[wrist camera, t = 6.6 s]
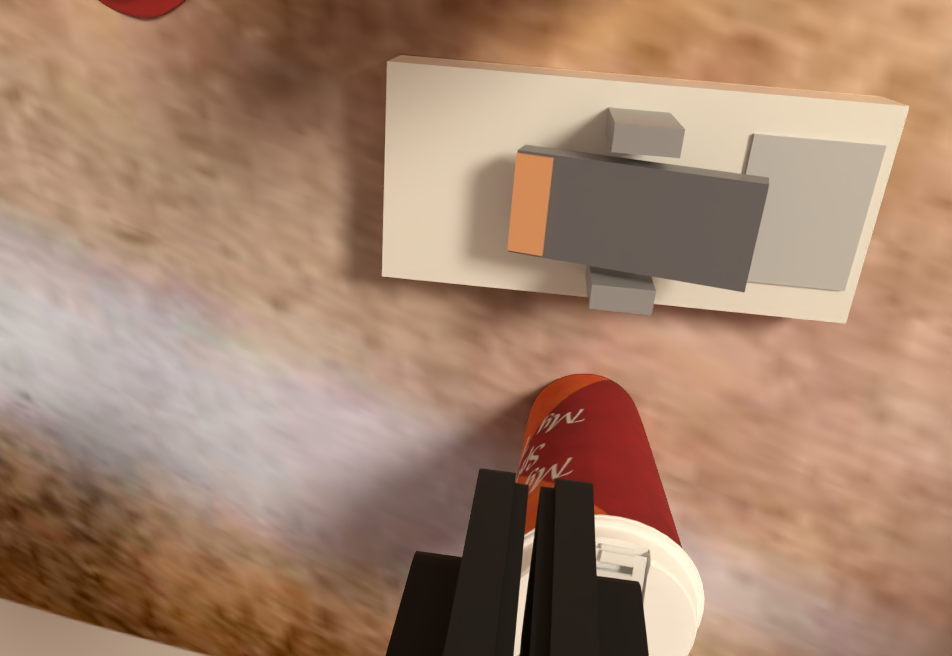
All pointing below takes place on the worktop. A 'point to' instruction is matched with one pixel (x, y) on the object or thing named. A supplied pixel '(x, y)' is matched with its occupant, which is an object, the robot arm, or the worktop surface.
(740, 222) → the breaker paddle
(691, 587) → the paper cup
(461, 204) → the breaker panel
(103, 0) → the cayenne pepper
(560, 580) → the robot arm
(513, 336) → the worktop surface
